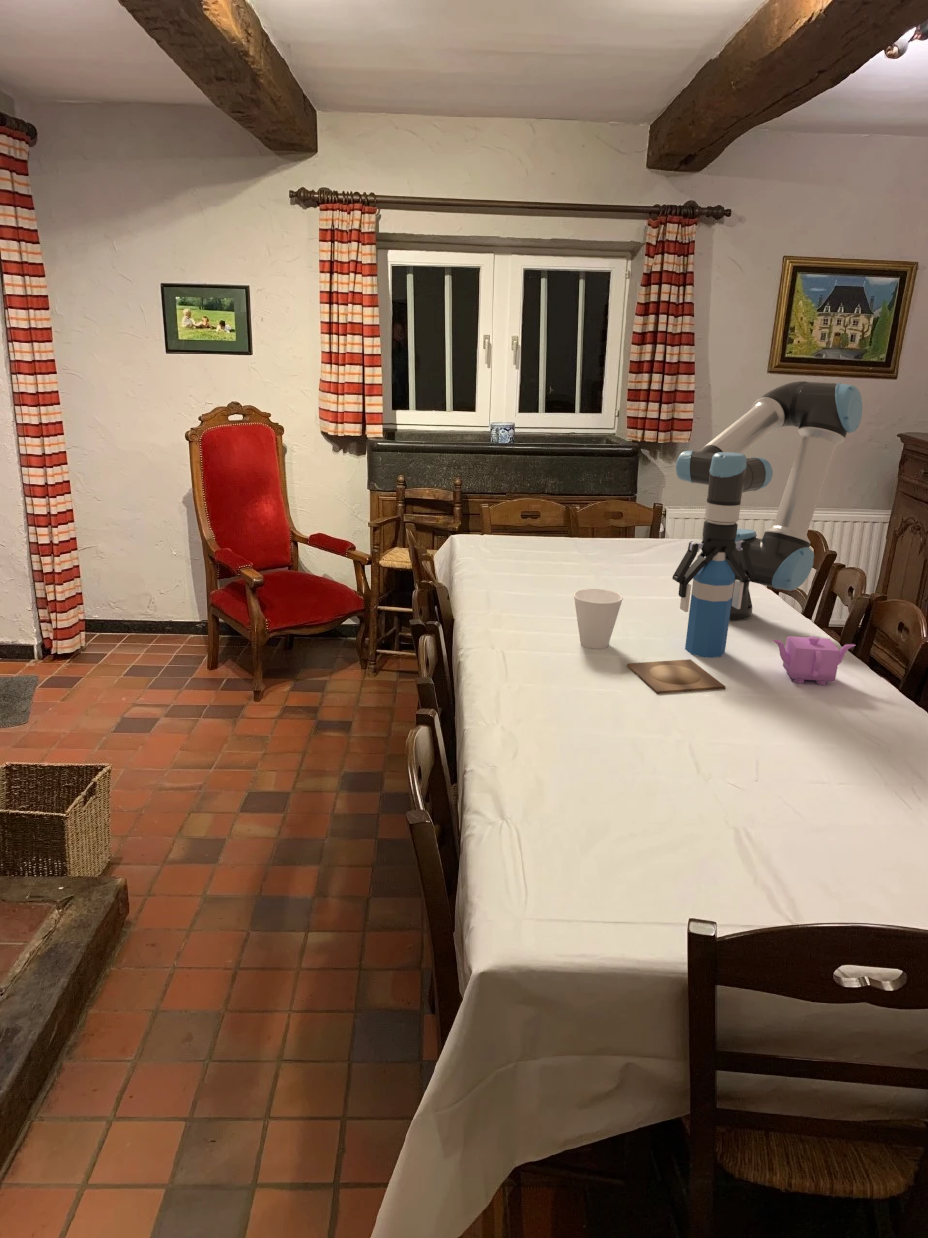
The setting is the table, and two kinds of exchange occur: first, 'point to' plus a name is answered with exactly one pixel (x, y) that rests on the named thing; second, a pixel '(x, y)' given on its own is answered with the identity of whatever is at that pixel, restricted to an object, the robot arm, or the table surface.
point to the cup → (596, 616)
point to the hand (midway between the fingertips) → (710, 608)
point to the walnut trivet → (674, 676)
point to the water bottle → (710, 608)
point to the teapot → (811, 658)
